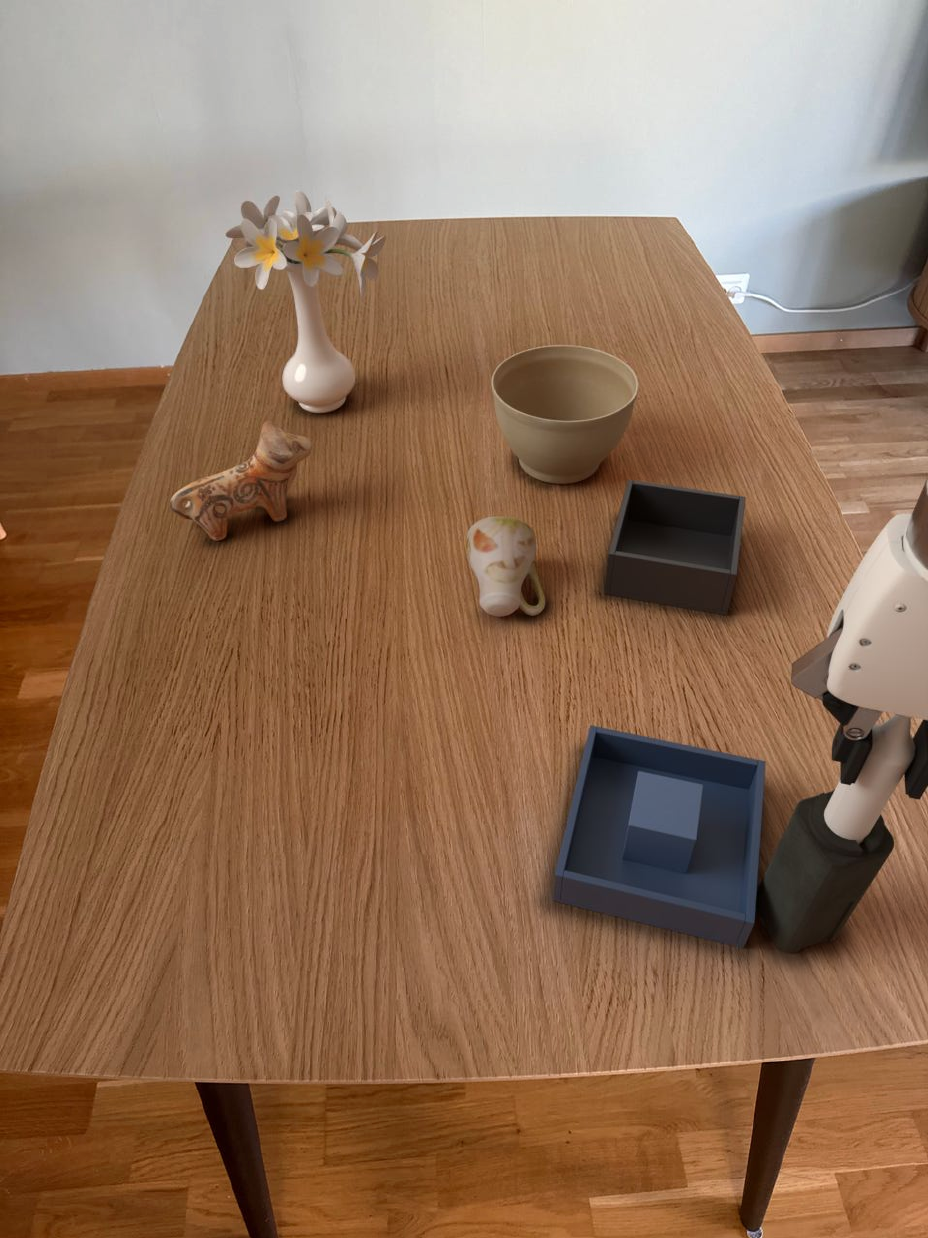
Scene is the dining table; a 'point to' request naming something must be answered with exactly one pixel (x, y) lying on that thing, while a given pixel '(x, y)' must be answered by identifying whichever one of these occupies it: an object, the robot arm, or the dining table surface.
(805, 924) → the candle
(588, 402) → the planter bowl
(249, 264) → the flower vase
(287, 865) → the dining table surface
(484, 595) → the mug
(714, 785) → the blue bin
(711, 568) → the charcoal bin
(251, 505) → the figurine
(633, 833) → the blue block
